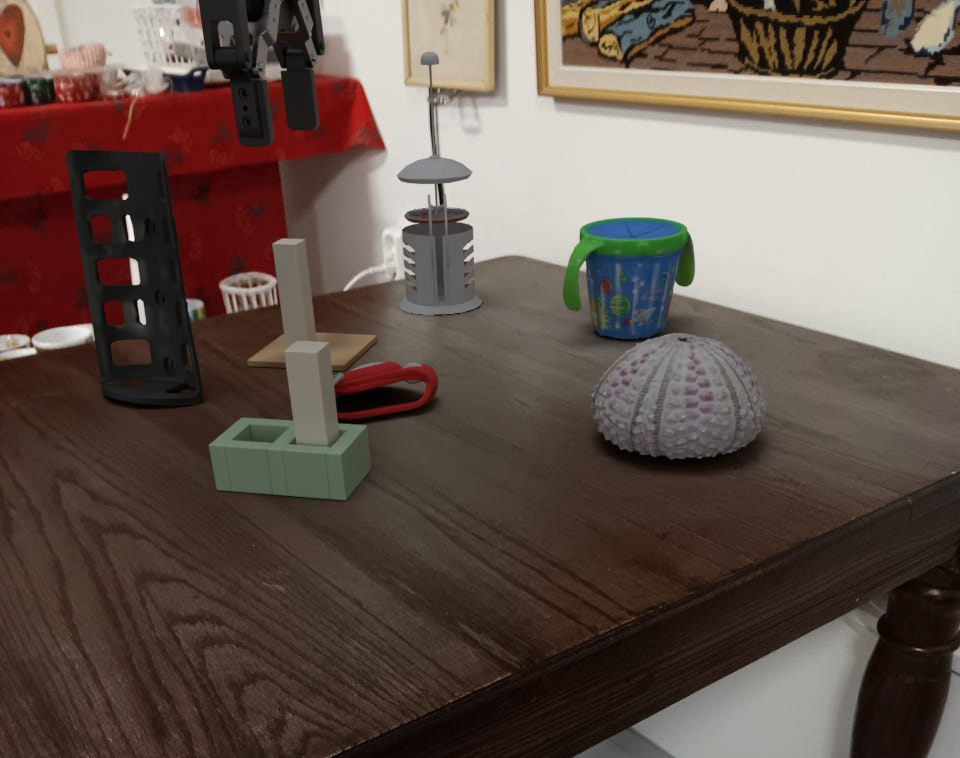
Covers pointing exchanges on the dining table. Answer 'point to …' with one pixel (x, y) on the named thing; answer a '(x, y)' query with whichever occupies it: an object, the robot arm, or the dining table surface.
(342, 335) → the coaster
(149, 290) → the holder
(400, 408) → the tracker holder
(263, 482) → the peg rack
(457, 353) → the dining table surface
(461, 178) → the french press
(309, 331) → the peg back
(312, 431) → the peg front
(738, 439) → the sea urchin shell
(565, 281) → the snack cup
